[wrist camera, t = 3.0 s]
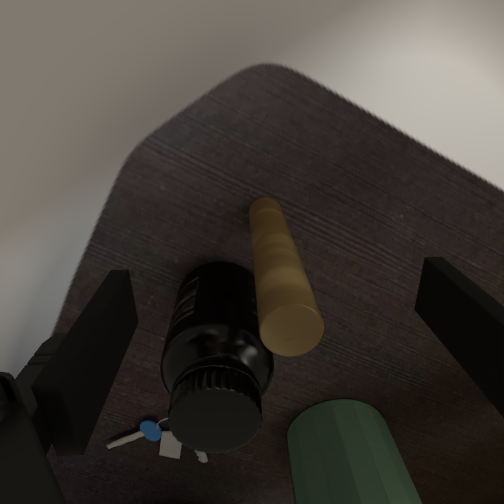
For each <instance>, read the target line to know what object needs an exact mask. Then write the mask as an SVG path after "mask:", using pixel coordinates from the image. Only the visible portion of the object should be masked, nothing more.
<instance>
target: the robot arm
mask: <svg viewBox="0 0 504 504" xmlns="http://www.w3.org/2000/svg"><path fill="white" fill-rule="evenodd" d="M414 310H415V311H416V312H417V313H418V314H419V316H420V317H421V318H422V319H423V320H424V322H425V323H426V324H427V325H428V327H429V328H430V329H431V330H432V331H433V333H434V334H435V335H436V336H437V337H438V339H439V340H440V341H441V342H442V343H443V345H444V346H445V347H446V348H447V350H448V351H449V352H450V353H451V354H452V356H453V357H454V358H455V359H456V360H457V362H458V363H459V364H460V365H461V366H462V368H463V369H464V370H465V371H466V373H467V374H468V375H469V376H470V377H471V379H472V380H473V381H474V382H475V383H476V385H477V386H478V387H479V388H480V389H481V391H482V392H483V393H484V394H485V396H486V397H487V398H488V399H489V400H490V402H491V403H492V404H493V405H494V406H495V408H496V409H497V410H498V411H499V412H500V414H501V415H502V416H503V417H504V306H502V305H501V304H500V303H499V302H497V301H496V300H495V299H494V298H492V297H491V296H490V295H489V294H487V293H486V292H485V291H484V290H482V289H481V288H480V287H479V286H477V285H476V284H475V283H474V282H472V281H471V280H470V279H469V278H467V277H466V276H465V275H464V274H462V273H461V272H460V271H459V270H457V269H456V268H455V267H454V266H452V265H451V264H450V263H449V262H447V261H446V260H445V259H444V258H442V257H427V258H425V259H424V264H423V269H422V274H421V279H420V284H419V289H418V294H417V299H416V304H415V309H414ZM137 324H138V317H137V312H136V306H135V301H134V296H133V290H132V285H131V280H130V275H129V270H111V271H110V272H109V274H108V275H107V277H106V278H105V280H104V281H103V282H102V284H101V285H100V287H99V288H98V290H97V291H96V293H95V294H94V295H93V297H92V298H91V300H90V301H89V303H88V304H87V306H86V307H85V309H84V310H83V311H82V313H81V314H80V316H79V317H78V319H77V320H76V322H75V323H74V324H73V326H72V327H71V329H70V330H69V332H68V333H60V334H54V335H53V336H52V337H50V338H49V339H48V340H46V341H45V342H44V343H42V345H41V346H40V347H39V349H38V350H37V351H36V352H35V354H34V356H33V357H32V358H31V359H30V360H29V362H28V363H27V365H26V366H25V367H24V368H23V370H22V371H21V372H20V373H19V375H18V376H17V377H16V379H15V380H14V377H13V376H12V375H11V374H9V373H5V372H0V504H66V501H65V499H64V496H63V494H62V492H61V489H60V487H59V485H58V482H57V480H56V478H55V475H54V473H53V470H52V468H51V466H50V463H49V461H48V459H47V456H46V454H47V452H48V450H49V448H50V446H51V444H53V447H54V450H55V452H56V455H57V456H71V455H83V454H84V452H85V449H86V447H87V445H88V442H89V440H90V437H91V435H92V433H93V430H94V428H95V425H96V423H97V421H98V418H99V416H100V413H101V411H102V409H103V406H104V404H105V401H106V399H107V397H108V394H109V392H110V389H111V387H112V385H113V382H114V380H115V377H116V375H117V372H118V370H119V368H120V365H121V363H122V360H123V358H124V356H125V353H126V351H127V348H128V346H129V344H130V341H131V339H132V336H133V334H134V332H135V329H136V327H137Z"/></svg>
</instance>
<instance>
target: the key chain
mask: <svg viewBox="0 0 504 504" xmlns="http://www.w3.org/2000/svg"><path fill="white" fill-rule="evenodd" d="M166 419H168V418H165V419H162V420H160V421H159V422H158V423H155V422H154V421H151V420H144V421H143V422H141V425H140V431H138V432H136V433H133V434H132V435H129V436H125V437H123V438H120V439H119V440H117V441H114V442H112V443H110V444H108V445H106V446H107V447H108V449H109V448H112V447H115V446H118V445H119V446H120V445H122V444H124V443H126V442H129V441H133V440H135V439H137V438H139V437H142V436H145V438H147V439H148V440H151V441H157V440H159V439H160V437H161V445H160V453H159V455H162V456H167V457H172V458H177V459H179V458H180V452H181V445H182V443H180V442H178V441H177V440H176V438H175V437H174V436H172V432H171V431H162V430H161V428H160V426H159V425H158V424H159V423H160V422H161V421H163V420H166ZM170 432H171V433H170ZM161 435H162V436H161ZM197 452H198V451H196V450H195V453H197ZM197 456H199V458H198V460H200V461H201V462H204V463H205V462H208V458H207V455H206V453H204V452H198V453H197Z"/></svg>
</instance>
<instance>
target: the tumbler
mask: <svg viewBox="0 0 504 504" xmlns="http://www.w3.org/2000/svg"><path fill="white" fill-rule="evenodd" d="M286 441H287V455H288V462H289V469H290V477H291V484H292V491H293V499H294V504H422V502H421V500H420V498H419V495H418V493H417V491H416V489H415V486H414V484H413V482H412V480H411V477H410V475H409V473H408V471H407V468H406V466H405V464H404V462H403V460H402V457H401V455H400V453H399V451H398V448H397V446H396V444H395V442H394V439H393V437H392V435H391V433H390V430H389V428H388V426H387V424H386V421H385V419H384V418H383V416H382V415H381V414H380V412H379V411H377V410H376V409H375V408H374V407H372V406H371V405H368V404H366V403H364V402H361V401H356V400H350V399H337V400H330V401H325V402H322V403H319V404H316V405H314V406H312V407H310V408H308V409H306V410H305V411H303V412H302V413H301V414H300V415H298V416H297V417H296V418H295V420H294V421H293V422H292V424H291V425H290V427H289V429H288V432H287V437H286Z"/></svg>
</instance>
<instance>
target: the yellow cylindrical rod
mask: <svg viewBox="0 0 504 504" xmlns="http://www.w3.org/2000/svg"><path fill="white" fill-rule="evenodd" d="M249 222H250V233H251V244H252V255H253V266H254V277H255V288H256V299H257V310H258V321H259V332H260V338H261V340H262V342H263V344H264V345H265V346H266V347H267V348H268V349H269V350H270V351H272V352H273V353H275V354H278V355H281V356H298V355H302V354H304V353H307V352H308V351H310V350H312V349H313V348H314V347H315V346H316V345H317V344H318V343H319V341H320V340H321V338H322V335H323V332H324V323H323V320H322V317H321V314H320V312H319V309H318V306H317V304H316V301H315V298H314V295H313V293H312V290H311V287H310V285H309V282H308V279H307V277H306V274H305V271H304V268H303V266H302V263H301V260H300V258H299V255H298V252H297V250H296V247H295V244H294V241H293V239H292V236H291V233H290V231H289V228H288V225H287V223H286V220H285V217H284V214H283V212H282V209H281V206H280V204H279V203H278V202H277V201H276V200H275V199H273V198H270V197H261V198H258V199H256V200H255V201H254V202H253V203H252V204H251V206H250V208H249Z"/></svg>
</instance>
